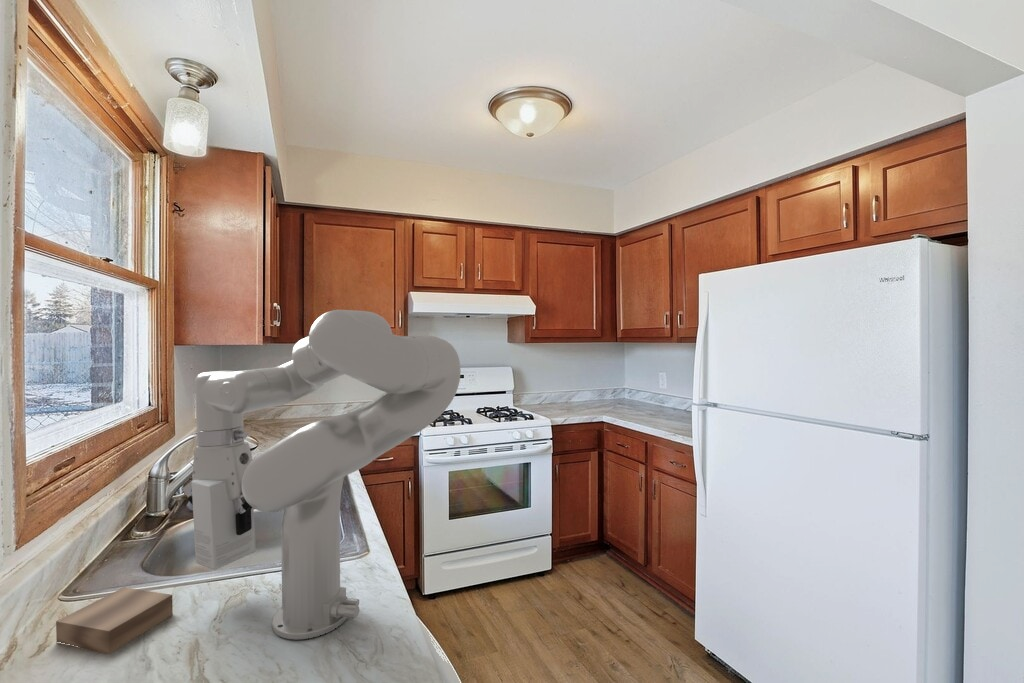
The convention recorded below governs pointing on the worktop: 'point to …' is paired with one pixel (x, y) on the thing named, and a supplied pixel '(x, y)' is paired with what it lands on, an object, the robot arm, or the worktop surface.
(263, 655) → the worktop surface
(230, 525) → the skincare box
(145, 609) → the walnut block
